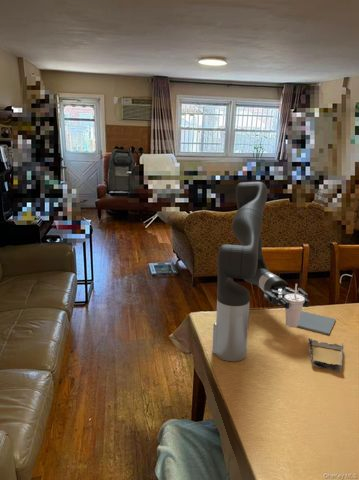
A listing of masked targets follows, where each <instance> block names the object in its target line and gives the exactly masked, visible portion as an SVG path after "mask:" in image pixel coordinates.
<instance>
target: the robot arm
mask: <svg viewBox="0 0 359 480" xmlns="http://www.w3.org/2000/svg"><path fill="white" fill-rule="evenodd" d="M267 200H268V188H267V186H266V184H265V182H262V181H246V182H245V181H244V182H239V183H238V184H237V185H236V189H235V201H236V207H237V211H236V212H235V214H234V217H233V221H232V224H231V230H232V233H233V235H234V237H235V238H236V239H237V241H238V242H239V243H240V244H239V245H238V244H230V243H229V244H226V243H225V244H222V245H220V247H219V249H218V251H217V261H216V262H217V268H216V269H217V294H216V295H217V296H216V297H217V298H216V318H215V319H216V321H215V322H214V323H213V326H212V352H211V353H212V354H214V355H216V356H217V357H218V358H219V359H220V360H224V361H227V362H239V361H242V360H244V359H245V358H246V356H247V350H248V347H247V346H248V335H249V334H248V332H249V318H250V317H249V315H250V301H251V300H250V298H251V293H250V291H249V290H248V288H247V287H245V286H243V285H241V284H239V283H237V282H236V281H234V280H233V279H240V280H244V281H245V282H247V283H249V284H251V285H255V286H258V287H259V288H260V290H262V292H264V295H263V298H264V299H265V300H266V301H268V302H269V303H270V304H272V305H279V306H282V308H284V309H285V308H286V309H289V302H288V301H287V300H285V299H284V296H285V295H287V294H295V289H293V288H290V286H289V284H288V282H287V281H285V280H284V279H283V278H281V277H279V276H278V275H277V274H274V273H273V272H271V271H270V270H268V267H267V263H266V261H265V259H264V254H263V245H262V243H263V242H262V236H261V232H262V228H263V227H262V226H263V218H264V217H263V215H264V212H265V210H264V209H265V207H266V204H267ZM296 294H298V295H301V296H303V297H304V298H305V302H304V303H303V306H304V307H305V308H309V307H310V300H309V299H308V296H309V294H308V293H307V292H306V291H304V290H303V289H302V288H300V287H297V292H296Z"/></svg>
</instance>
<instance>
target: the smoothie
mask: <svg viewBox="0 0 359 480" xmlns="http://www.w3.org/2000/svg"><path fill="white" fill-rule="evenodd" d="M294 290H295V294H287V295H285V296H284V299H285V300H287V301H288V302H289V309H286V308H284V310H285V325H286V326H287V327H289V328H298V327H297V326H298V322H299V318H300V314H301V311H303V308H304V307H303V306H304V305H303V303H304V302H305V298H304V297H303V296H301V295H298V294H296V292H297V290H298V283H295V287H294Z"/></svg>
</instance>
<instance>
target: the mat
mask: <svg viewBox="0 0 359 480" xmlns="http://www.w3.org/2000/svg"><path fill="white" fill-rule="evenodd" d="M336 320H337V319H336V318H333V317H330V316H329V317H328V316H325V315H320V314H316V313H311V312H308V311H303V310H301V314H300V318H299V322H298V326H297V327H296V328H299V327H300V328H299V329H304V330H309V331H310V332H311V331H312V332H314V333H315V332H316V333H319V334H324V335H326V336H330V334H331V332H332V330H333V327H334V325H335V322H336Z"/></svg>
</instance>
